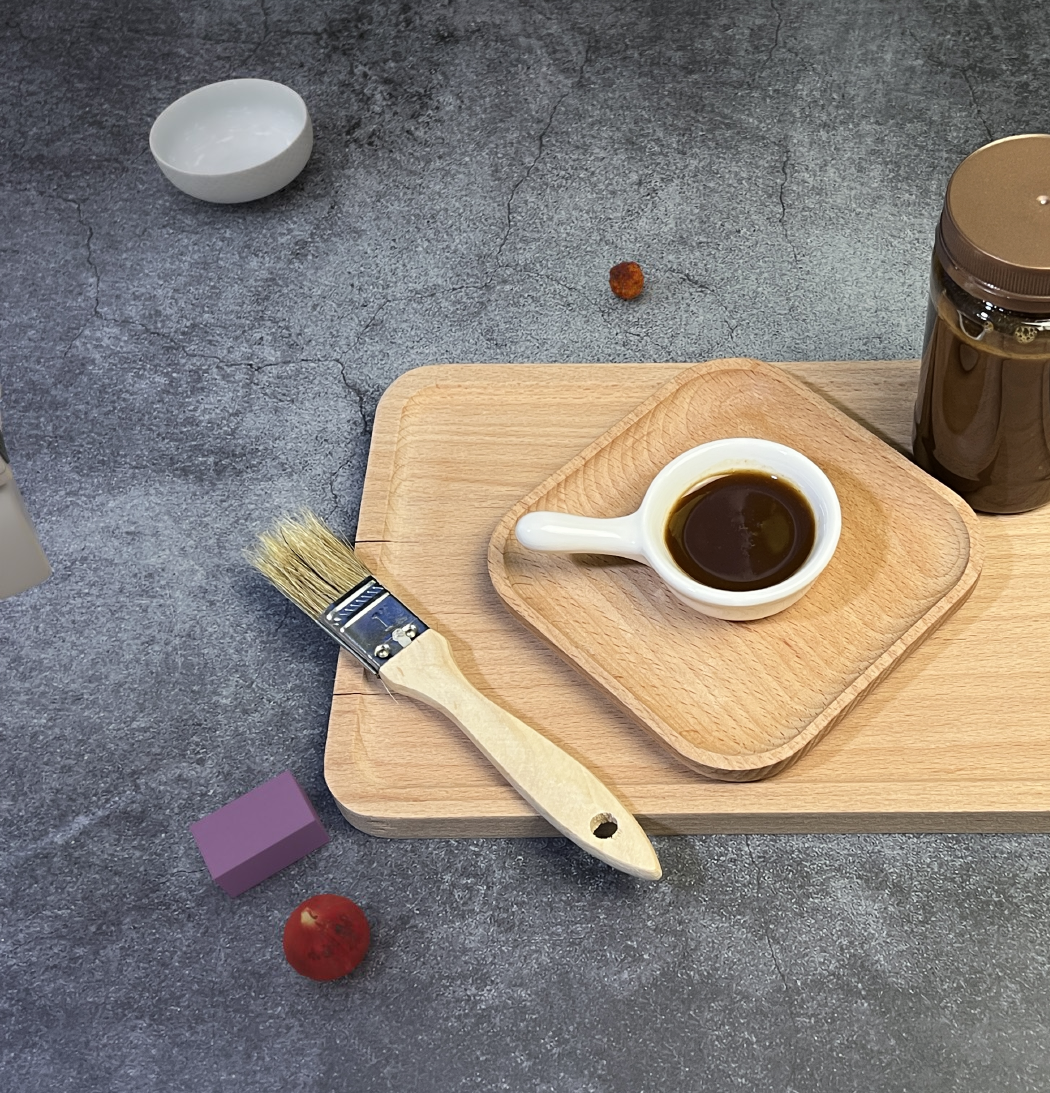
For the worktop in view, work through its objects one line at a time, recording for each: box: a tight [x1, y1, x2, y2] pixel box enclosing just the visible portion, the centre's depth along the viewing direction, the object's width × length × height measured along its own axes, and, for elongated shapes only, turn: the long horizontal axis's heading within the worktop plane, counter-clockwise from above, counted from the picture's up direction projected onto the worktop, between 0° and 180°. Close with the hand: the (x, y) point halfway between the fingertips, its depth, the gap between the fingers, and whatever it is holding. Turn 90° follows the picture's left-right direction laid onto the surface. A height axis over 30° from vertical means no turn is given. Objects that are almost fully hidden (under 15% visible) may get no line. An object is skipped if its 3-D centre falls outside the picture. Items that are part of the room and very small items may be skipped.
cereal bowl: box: [148, 78, 314, 204], centre depth 141 cm, size 17×17×7 cm
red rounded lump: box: [282, 893, 371, 982], centre depth 91 cm, size 6×6×8 cm
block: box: [188, 769, 331, 899], centre depth 97 cm, size 5×8×4 cm, turn 124°
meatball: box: [608, 261, 645, 300], centre depth 130 cm, size 4×4×4 cm
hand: (21, 529), depth 87 cm, fingers closed
